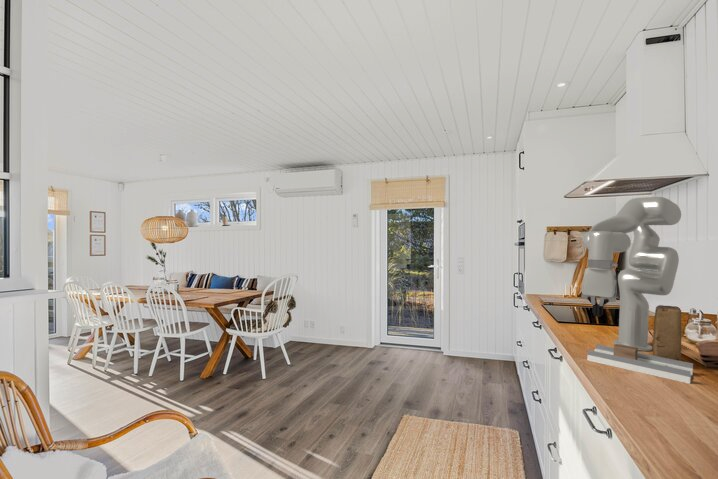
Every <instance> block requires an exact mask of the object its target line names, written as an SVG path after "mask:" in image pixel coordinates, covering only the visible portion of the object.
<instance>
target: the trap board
mask: <svg viewBox="0 0 718 479" xmlns="http://www.w3.org/2000/svg"><path fill="white" fill-rule="evenodd" d="M586 357H587V361H588V362H593V363H598V364H601V365H602V364H603V365H606V366H610V367H614V368H615V367H616V368H620V369H624V370H627V371H632V372H636V373H641V374H646V375H651V376H653V377H659V378H663V379H667V380H673V381H676V382H681V383H684V384H685V383H686V384H689V385H690V383H691V382H692V378H693V375H694V363H692V362H687V361H682V360H680V361H678V360H673V359H668V358H663V357H658V356H653V354H648V353H641V352H638V358H637V360H634V359H629V358H625V357H620V356H615V355H614V347H612V346H606V345H601V344H595V349H594V350H591V349H587V356H586Z"/></svg>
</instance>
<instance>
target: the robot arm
mask: <svg viewBox="0 0 718 479" xmlns="http://www.w3.org/2000/svg"><path fill="white" fill-rule="evenodd" d="M681 218H682V211H681V208H680V206H678V204H677V203H675V202H673V201H672V200H670V199H669V198H666V197H663V196H650V197H649V196H648V197H647V196H646V197H636V198H631V199H629V200H628V201H626V203H624V205H623V206H622V208H620V210H619V211H618V212H617V214H615V215H613V216H611V217H609V218H606V219H604V220H602V221H599V222H597V223H596V224H594V225H593V226H592V227H591V228H590V230H589V231H588V232H587V233H586V235H585V236H584V241H583V242H584V248H586V249H587V250H588V251H587V252H588V254H587V268H584V269H585V270H584V272H583V278H582V282H581V283H582V284H581V296H580V297H581V298H582V299H585V300H587V301H588V302H590V304H591V305H592V310H591V312H592V314H593V317H597V318H601V316H603V315H604V306H605V305H607V304H608V303H615V302H617V293H618V291H619V314H618V317H619V318H618V339H614V340H613V344H614V346H615V345H616V344H622V345H627V346H632V347H637V348H638V351H641V352H648V351H653V345H650V344H649V343H648V339H649V338H648V337H649V314H650V313H649V312H650V305H649V302H648V300H647V299H646V297H645V296H644V295H643V294H647V295H653V296H654V295H655V296H668V295H669V294H671V292H672V290H673V286H674V284H675V280H676V275H677V272H678V267H679V264H680V263H679V261H680V260H679V258H680V256H679V253H678V251H677V250H676V249H675V248H674V247H669V246H659V244H660V239H661V238H660V237H659V234H658V233H657V232H656V231H655V230H654V229H652V227H650V226H673V225H676V224H678V223H679V222H680V220H681ZM632 232H633V235H634V236H633V240H631V238H630V236H629V235H628V234H629V233H632ZM632 241H633V242H632ZM631 243H632V244H631ZM630 247H631V248H630ZM629 248H630V252H629V255H628V264H629V265H630V267H632V268H625V269H622V270H620V272H619V273H618V275H617V273H616V270H615V269H614V268H618V266H619V265H618V264H619V263H616V262H614V253H624V252H626V251H628V250H629ZM617 284H618V286H617ZM617 288H618V289H619V290H618V289H617ZM617 290H618V291H617ZM597 298H599V302H598V299H597Z"/></svg>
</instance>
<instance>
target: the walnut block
mask: <svg viewBox="0 0 718 479" xmlns="http://www.w3.org/2000/svg"><path fill="white" fill-rule="evenodd" d="M613 348H614V355H615V356H620V357H625V358H629V359H634V360H637V358H638V353H639V350H638V348H637V347H632V346H627V345H622V344H616V345H615V344H614V345H613Z"/></svg>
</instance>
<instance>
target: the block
mask: <svg viewBox="0 0 718 479" xmlns="http://www.w3.org/2000/svg"><path fill="white" fill-rule="evenodd" d="M653 320H654V321H653V336H652V355H653V356H658V357H663V358H668V359H673V360H678V361H682V358H681V357H682V354H681V353H682V309H681V308H680V307H678V306H674V305H663V304H659V305H657V306H656V307H655V311H654V319H653Z"/></svg>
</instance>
